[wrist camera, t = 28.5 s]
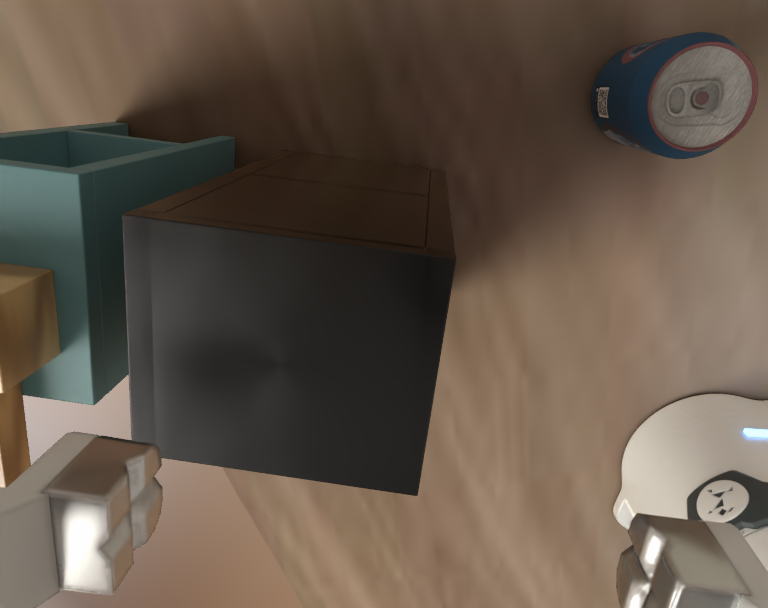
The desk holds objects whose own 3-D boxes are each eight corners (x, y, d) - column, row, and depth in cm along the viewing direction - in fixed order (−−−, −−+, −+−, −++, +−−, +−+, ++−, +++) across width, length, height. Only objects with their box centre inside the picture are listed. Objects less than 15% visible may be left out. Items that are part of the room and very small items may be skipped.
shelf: (426, 300, 50) (417, 496, 26) (277, 279, 51) (131, 454, 27) (445, 170, 47) (456, 258, 22) (284, 149, 47) (121, 214, 23)
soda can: (686, 39, 42) (778, 21, 31) (680, 139, 44) (763, 156, 33) (587, 50, 43) (640, 36, 32) (585, 148, 45) (635, 168, 34)
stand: (231, 278, 51) (94, 406, 31) (120, 263, 52) (-90, 379, 31) (235, 137, 47) (78, 174, 26) (113, 121, 47) (-134, 146, 27)
